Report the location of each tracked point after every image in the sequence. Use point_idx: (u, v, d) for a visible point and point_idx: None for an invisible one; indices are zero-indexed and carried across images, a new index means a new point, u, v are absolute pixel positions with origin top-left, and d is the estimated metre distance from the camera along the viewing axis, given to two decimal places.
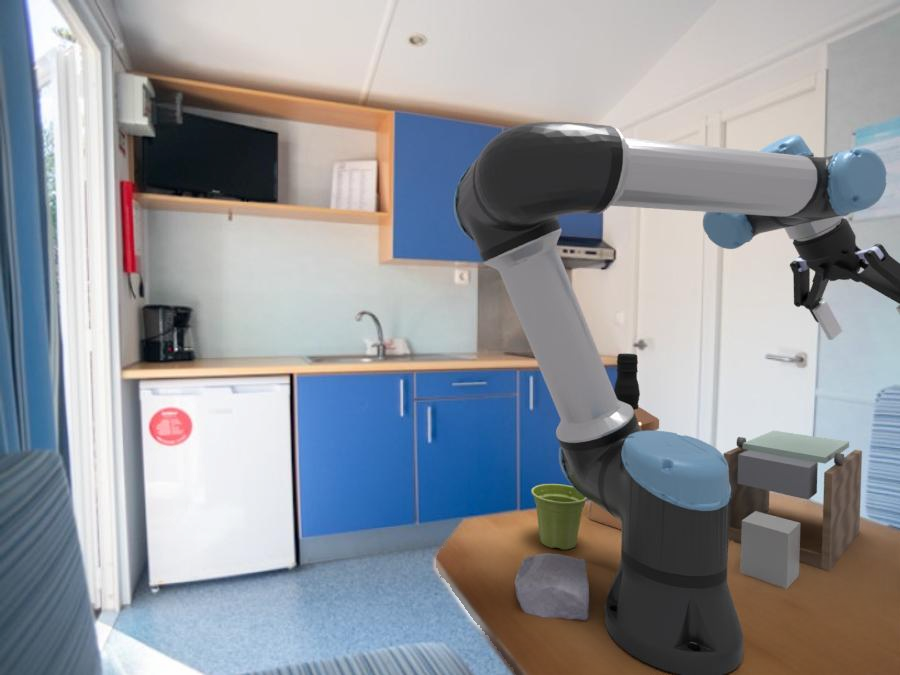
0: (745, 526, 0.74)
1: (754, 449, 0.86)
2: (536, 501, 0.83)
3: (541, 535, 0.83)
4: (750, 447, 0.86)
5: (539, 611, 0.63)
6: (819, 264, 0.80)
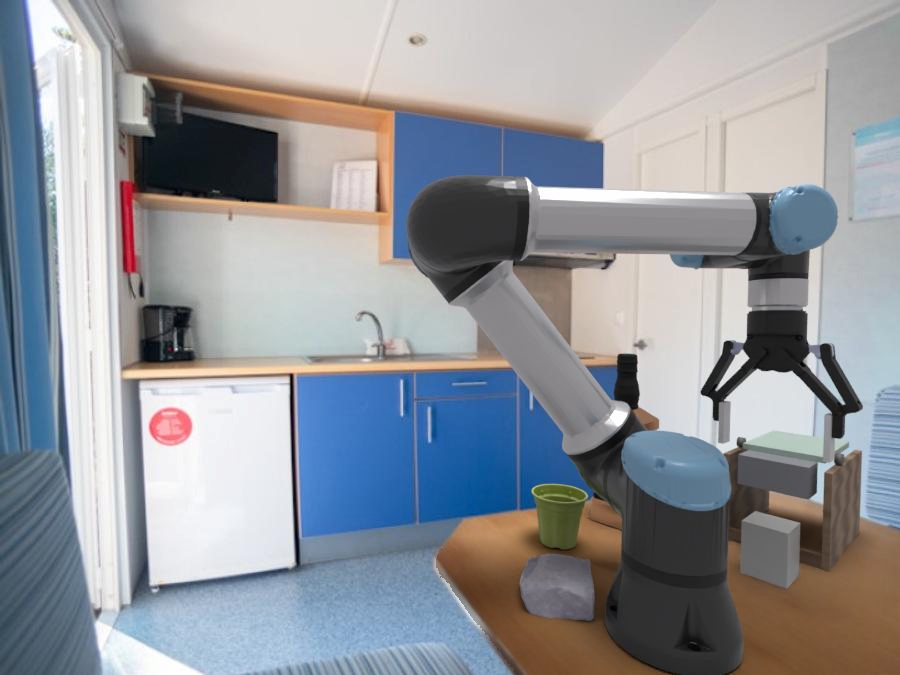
0: (745, 526, 0.74)
1: (754, 449, 0.86)
2: (536, 501, 0.83)
3: (541, 535, 0.83)
4: (750, 447, 0.86)
5: (544, 612, 0.62)
6: (760, 348, 0.73)
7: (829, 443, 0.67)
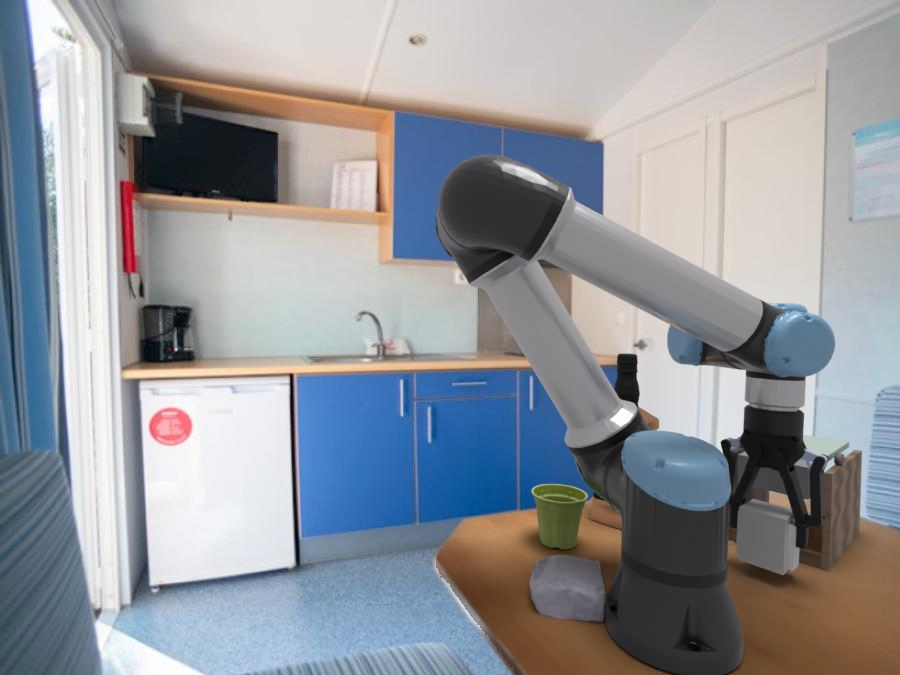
0: (742, 512, 0.73)
1: None
2: (536, 501, 0.83)
3: (541, 535, 0.83)
4: None
5: (555, 613, 0.62)
6: (756, 440, 0.74)
7: (793, 552, 0.70)
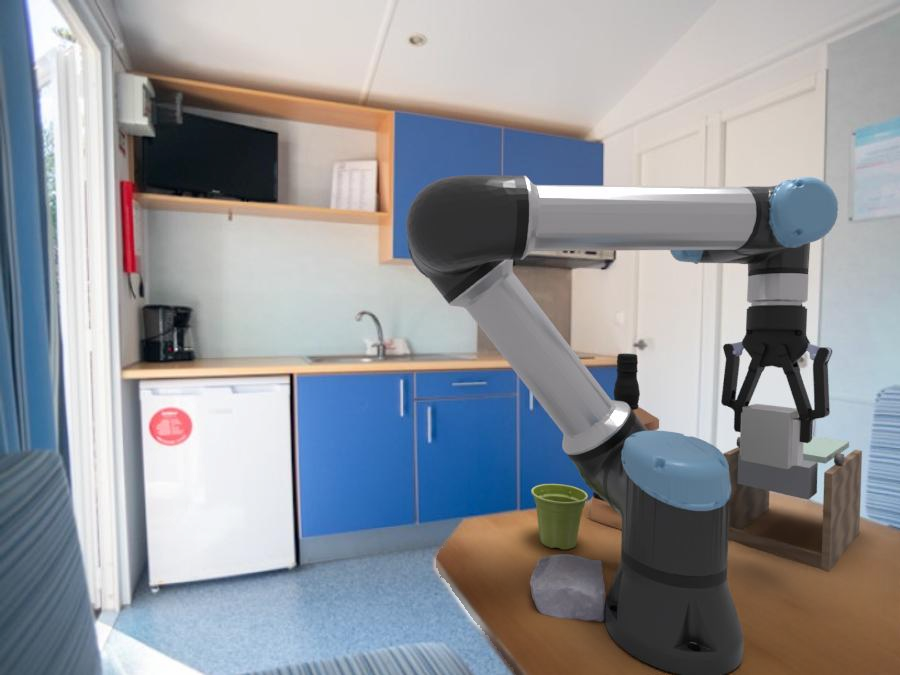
0: (746, 412, 0.73)
1: None
2: (536, 501, 0.83)
3: (541, 535, 0.83)
4: None
5: (555, 612, 0.62)
6: (759, 339, 0.73)
7: (797, 447, 0.70)
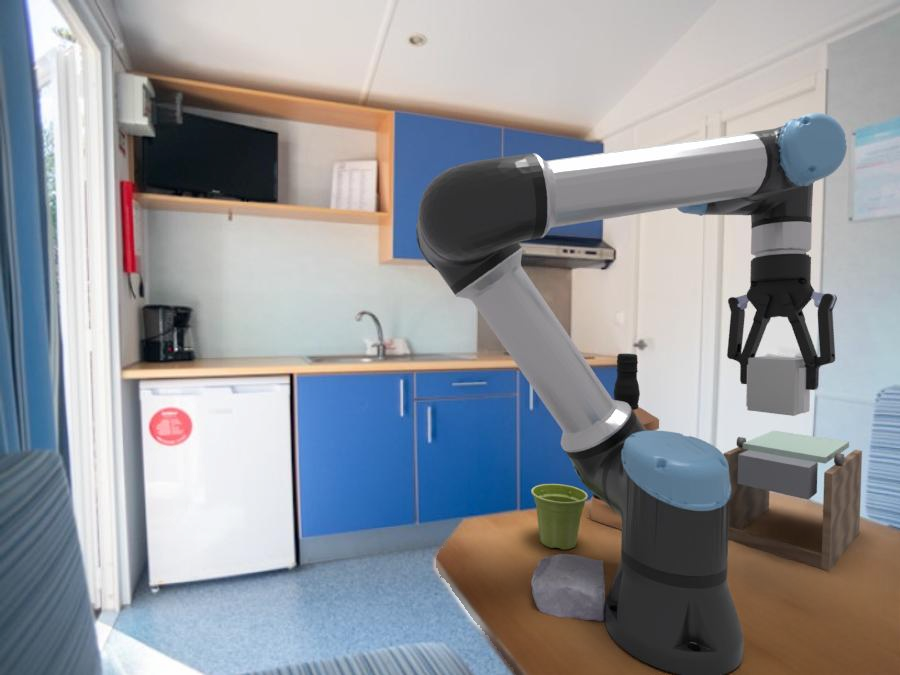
0: (751, 362, 0.74)
1: (754, 449, 0.86)
2: (536, 501, 0.83)
3: (541, 535, 0.83)
4: (750, 447, 0.86)
5: (555, 611, 0.63)
6: (763, 290, 0.74)
7: (803, 394, 0.70)
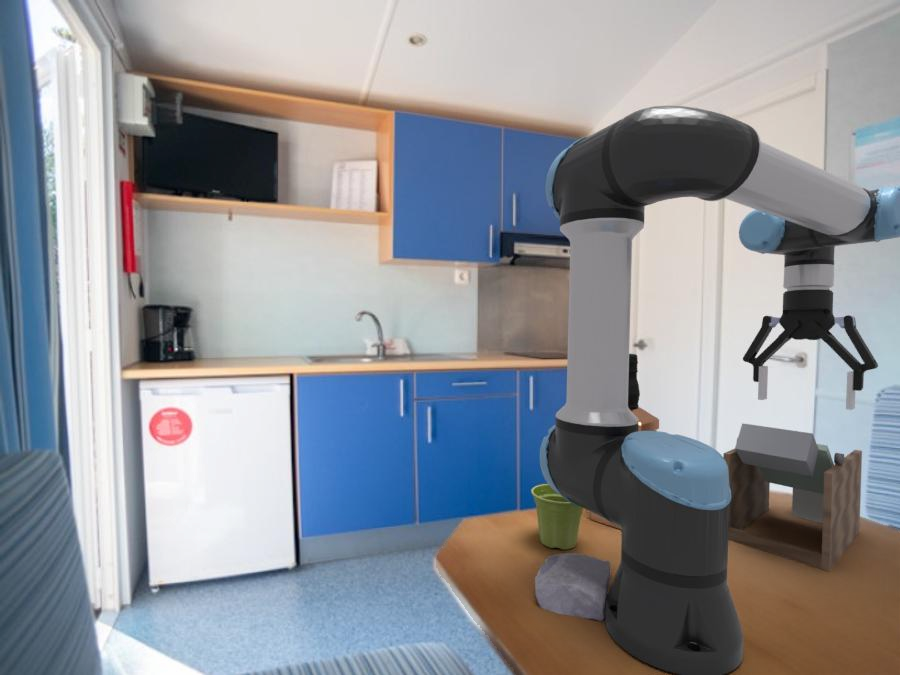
0: None
1: None
2: (536, 501, 0.83)
3: (541, 535, 0.83)
4: None
5: (555, 608, 0.63)
6: (794, 320, 0.91)
7: (851, 394, 0.85)
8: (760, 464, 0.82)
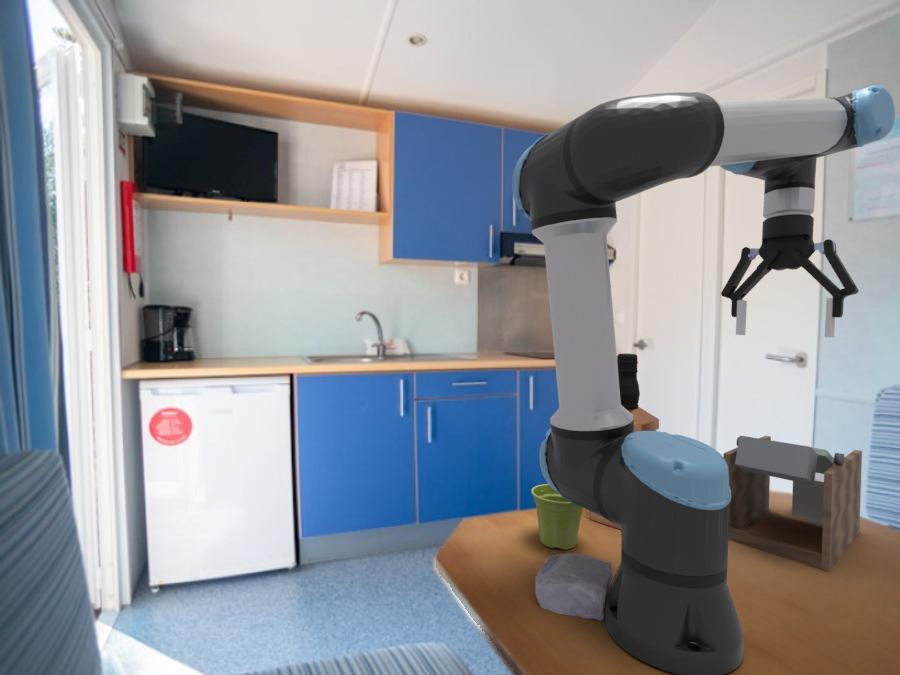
0: None
1: None
2: (536, 501, 0.83)
3: (541, 535, 0.83)
4: None
5: (555, 607, 0.63)
6: (773, 249, 0.88)
7: (830, 321, 0.81)
8: (761, 473, 0.83)
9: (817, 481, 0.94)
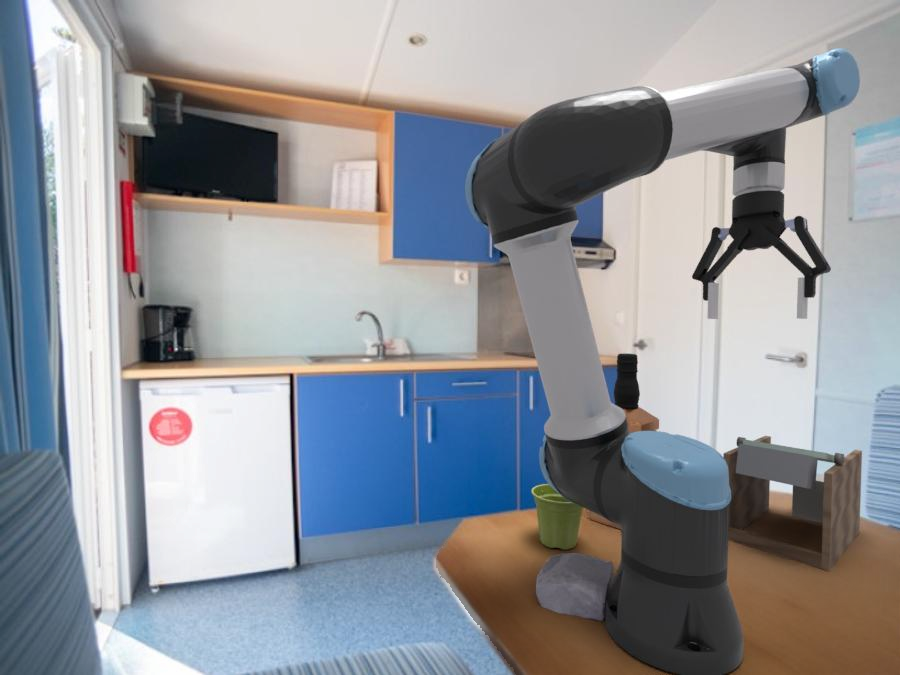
0: None
1: (754, 445, 0.86)
2: (536, 501, 0.83)
3: (541, 535, 0.83)
4: (750, 443, 0.86)
5: (555, 607, 0.64)
6: (744, 228, 0.84)
7: (802, 301, 0.78)
8: None
9: (817, 481, 0.94)
